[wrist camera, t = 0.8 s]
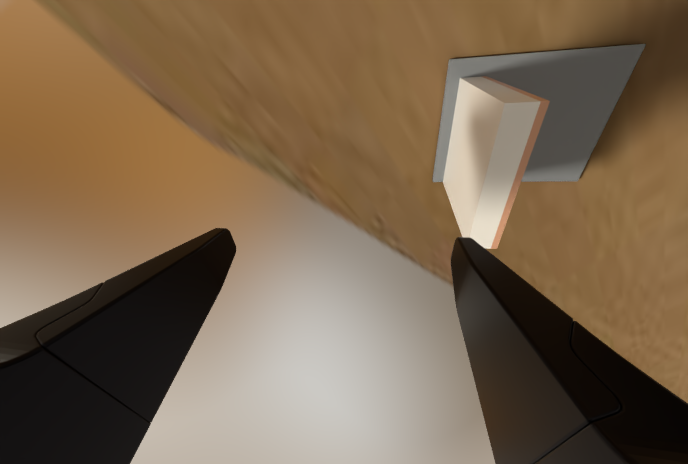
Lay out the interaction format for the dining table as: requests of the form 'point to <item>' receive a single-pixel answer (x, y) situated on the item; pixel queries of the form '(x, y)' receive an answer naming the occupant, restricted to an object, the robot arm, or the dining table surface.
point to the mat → (565, 101)
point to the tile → (489, 154)
